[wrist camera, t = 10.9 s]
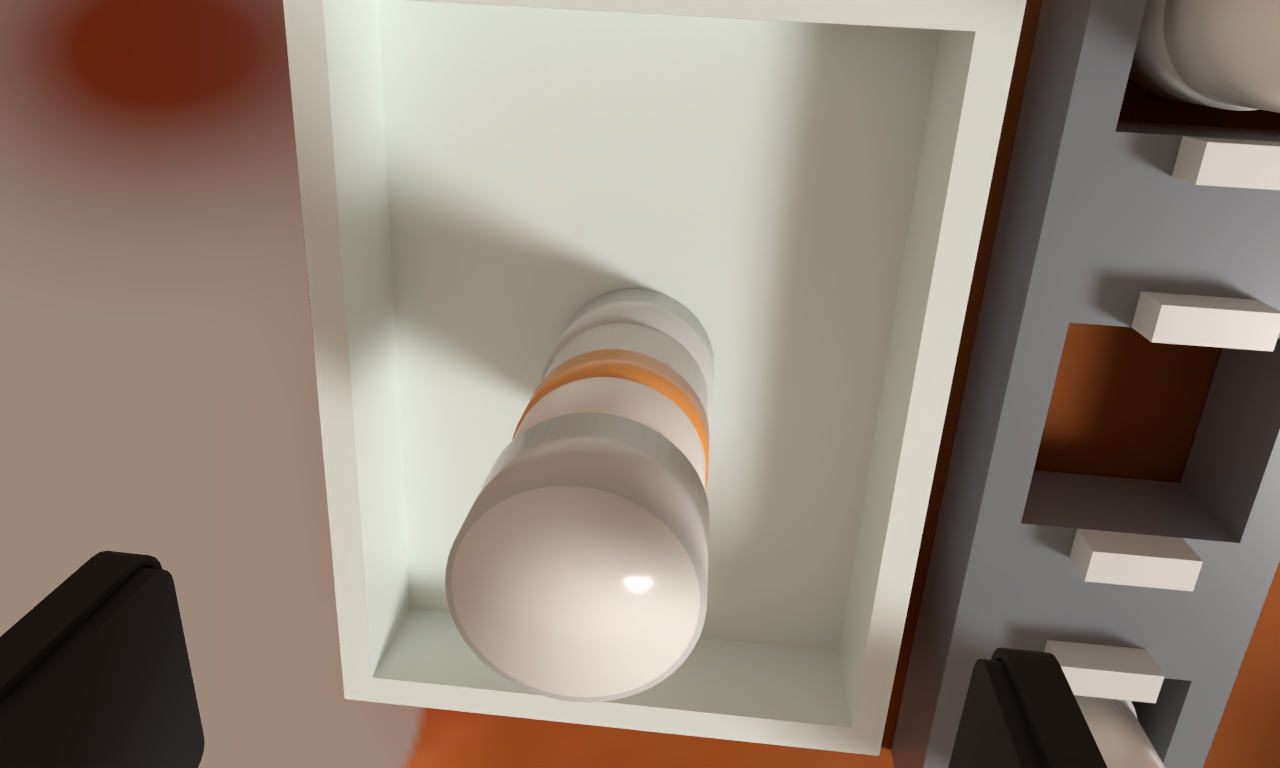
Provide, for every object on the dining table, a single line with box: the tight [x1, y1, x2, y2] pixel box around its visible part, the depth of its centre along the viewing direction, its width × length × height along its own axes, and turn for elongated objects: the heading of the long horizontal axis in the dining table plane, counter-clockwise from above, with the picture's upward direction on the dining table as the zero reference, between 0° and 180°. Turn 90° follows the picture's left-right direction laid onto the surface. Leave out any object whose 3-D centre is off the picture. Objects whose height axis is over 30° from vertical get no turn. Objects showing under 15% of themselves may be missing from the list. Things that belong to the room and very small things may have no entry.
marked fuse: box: [445, 288, 714, 702], centre depth 18 cm, size 4×4×10 cm
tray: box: [283, 0, 1027, 756], centre depth 22 cm, size 18×14×4 cm
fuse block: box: [891, 0, 1280, 768], centre depth 21 cm, size 25×7×4 cm, turn 177°
